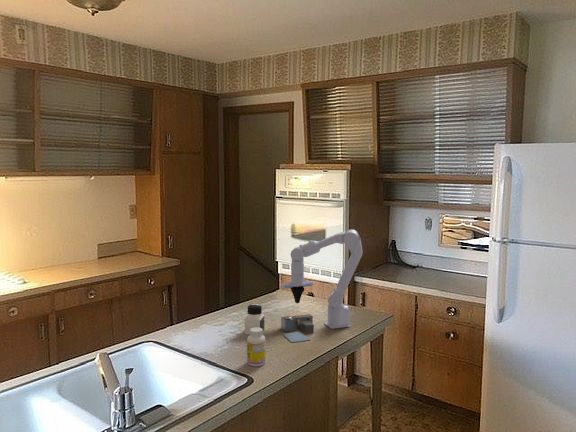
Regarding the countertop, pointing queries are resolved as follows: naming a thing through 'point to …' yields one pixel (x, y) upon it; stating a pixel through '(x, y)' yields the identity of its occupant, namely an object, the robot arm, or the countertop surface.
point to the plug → (305, 325)
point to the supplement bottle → (256, 347)
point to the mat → (296, 337)
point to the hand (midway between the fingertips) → (297, 302)
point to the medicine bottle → (253, 318)
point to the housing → (293, 322)
